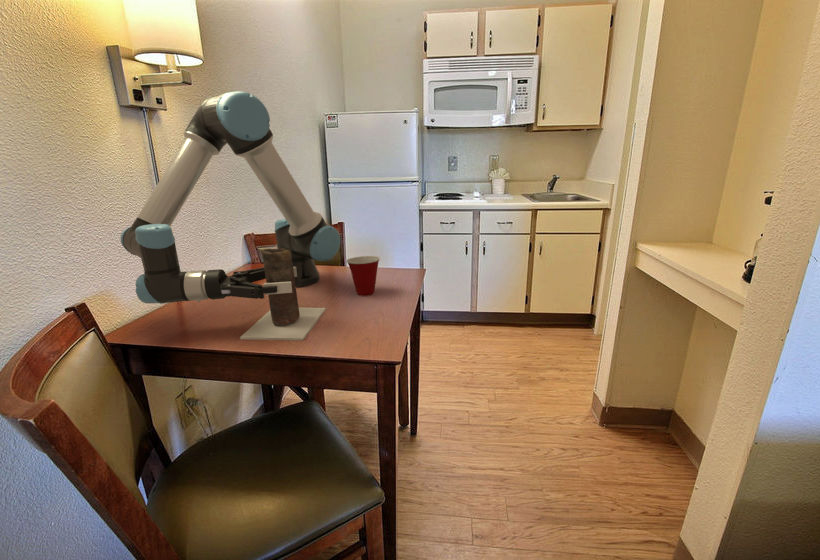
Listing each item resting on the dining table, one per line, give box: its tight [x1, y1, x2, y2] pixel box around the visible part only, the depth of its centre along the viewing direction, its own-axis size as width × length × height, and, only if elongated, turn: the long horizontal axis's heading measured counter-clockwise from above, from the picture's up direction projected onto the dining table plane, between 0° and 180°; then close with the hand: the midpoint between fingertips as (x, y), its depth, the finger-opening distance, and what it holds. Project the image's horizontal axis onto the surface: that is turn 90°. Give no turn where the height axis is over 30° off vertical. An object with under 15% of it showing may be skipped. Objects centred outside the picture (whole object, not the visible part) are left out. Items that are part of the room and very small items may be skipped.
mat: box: [239, 307, 327, 342], centre depth 105 cm, size 20×16×1 cm
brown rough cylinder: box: [261, 248, 300, 326], centre depth 102 cm, size 8×7×20 cm
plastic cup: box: [346, 255, 381, 297], centre depth 126 cm, size 11×11×12 cm
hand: (294, 278), depth 102 cm, fingers open, 13 cm apart
